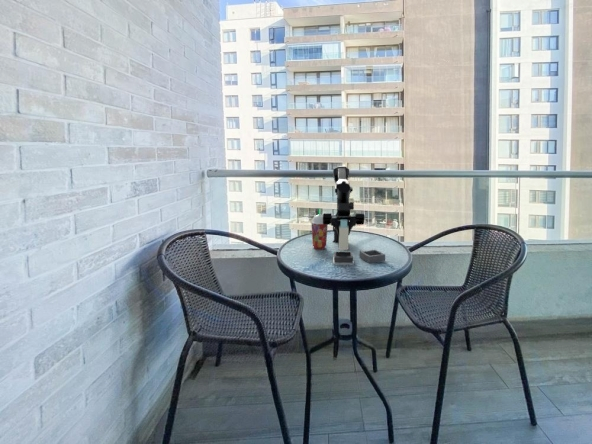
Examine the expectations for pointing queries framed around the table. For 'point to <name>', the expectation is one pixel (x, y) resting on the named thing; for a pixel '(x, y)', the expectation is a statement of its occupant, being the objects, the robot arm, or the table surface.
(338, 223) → the robot arm
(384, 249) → the table surface
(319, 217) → the smoothie
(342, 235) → the cream bottle
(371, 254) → the grey square tray
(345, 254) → the port
